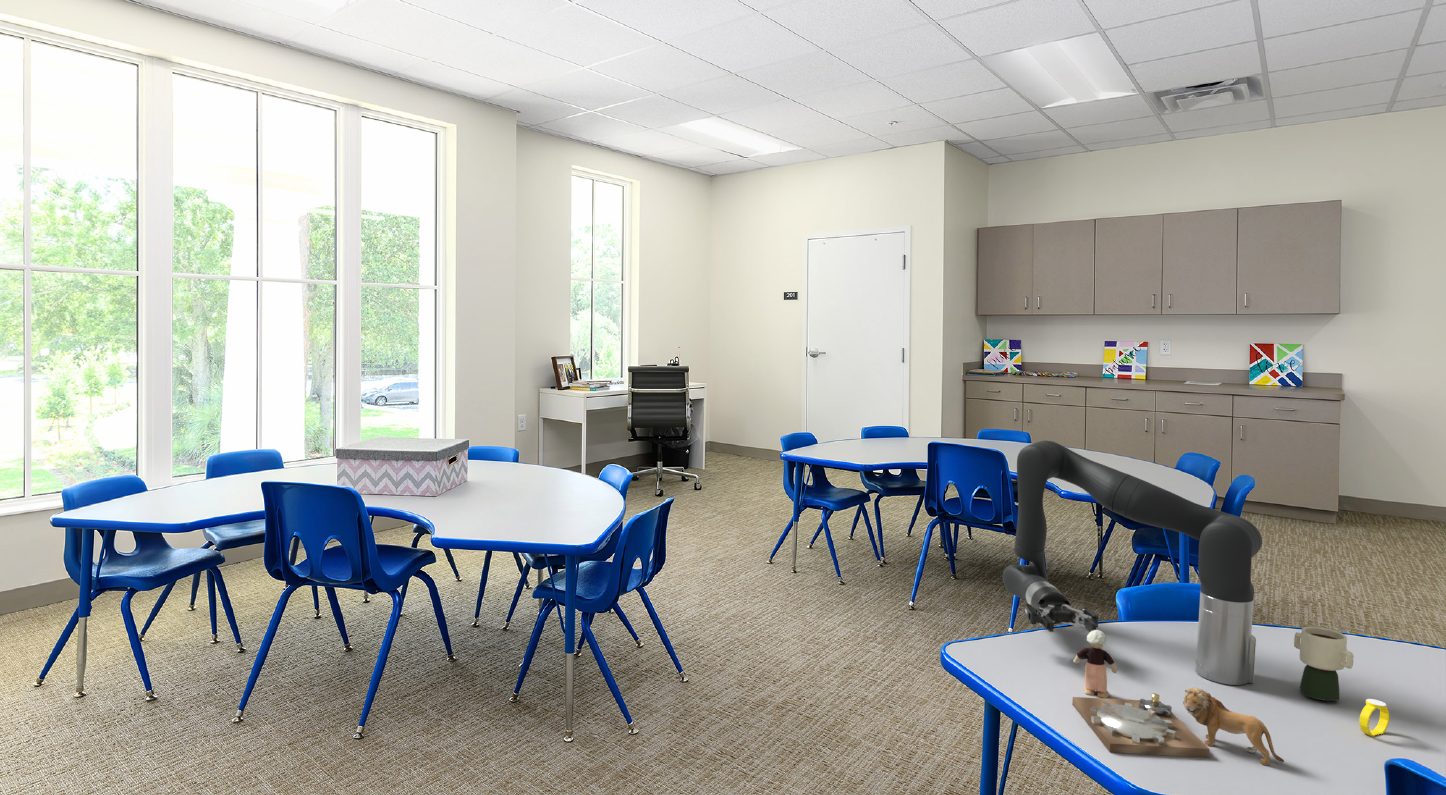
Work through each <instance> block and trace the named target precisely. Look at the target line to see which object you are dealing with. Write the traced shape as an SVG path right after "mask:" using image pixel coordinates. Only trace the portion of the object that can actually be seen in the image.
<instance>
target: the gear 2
mask: <svg viewBox="0 0 1446 795" xmlns="http://www.w3.org/2000/svg"><path fill="white" fill-rule="evenodd" d="M1139 700H1140V704H1139V708H1140V709H1143V710H1146V711H1147V710H1149V709H1151V710H1154V711H1156V715H1157V716H1165V717H1167V718H1169V717H1170V714H1171V712H1172V710H1173V709H1172V706H1171V705H1169V704H1165V703H1163V702H1162V703H1160V702H1161V701H1160V694H1159V693H1156V692H1155V693H1154V692H1153V693H1151V700H1149V699H1147V700H1146V699H1144V698H1139ZM1159 701H1160V702H1159Z"/></svg>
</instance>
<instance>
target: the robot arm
mask: <svg viewBox="0 0 1446 795" xmlns="http://www.w3.org/2000/svg"><path fill="white" fill-rule="evenodd" d="M1016 476H1017V480H1016V481H1017V505H1018V506H1017V524H1016V529H1015V530H1016V532H1015V540H1014V546H1013V548H1014V549H1013V551H1014V554H1015V556H1016V557H1018V559H1019V558H1020V559H1022V560H1025V561H1028V562H1031V563H1032V564H1031V565H1027V564H1015V563H1014V564H1010V565H1008V566H1006V567H1005V568H1004V570H1003V573H1002V581H1003V582H1002V583H1003V584H1004V587H1005V589H1006V590H1007V591H1008V592H1010V594H1012V595H1013V596H1015V597H1016V598H1017V597H1018V598H1019V599H1022V600H1024V601H1026V602H1027V603H1026V604H1025V608H1024V616H1025V618H1026V619H1027V620H1028V622H1029V623H1030V624H1031V625H1037V624H1039V626H1040V627H1041V626H1042V627H1043V628H1044V629H1046V630H1047V631H1048V632H1050V633H1054V627H1055V625H1058V624H1061V623H1062V624H1064V625H1066V624H1068V625H1071V626H1074V627H1075V628H1078V627H1083V628H1084V629H1085V630H1086V631H1087V632H1089V633H1090V632H1091V631H1093V630H1098V628H1099V617H1100V615H1098V614H1096V613H1095V612H1094V611H1093V610H1091V609H1090V607H1087V606H1083V607H1082V610H1080V609H1078V608H1077V609H1076V608H1075V607H1074V606H1071V604H1070V601H1069V599H1068V598H1067V596H1065V595H1064V594H1063V593H1062V591H1060V590H1059V589H1058V588H1057V587H1056V586H1054V585H1053V584H1051V583H1050V582H1049V578H1048V574H1047V568H1046V562H1045V561H1046V559H1045V548H1046V542H1047V534H1048V533H1047V532H1048V530H1047V529H1048V527H1047V526H1048V525H1047V524H1048V523H1047V519H1046V514H1045V511H1044V510H1045V509H1044V493H1045V489H1046V486H1047V485H1046V484H1047V482H1048V480H1049V479H1053V478H1054V479H1058V480H1061V481H1064V482H1066V483H1070V484H1073V485H1075V486H1077V487H1079V488H1080V489H1082V490H1083V491H1084V492H1086V493H1087V494H1089V495H1090V497H1092V499H1094V500H1095V501H1096V502H1097V503H1098V504H1100V506H1102V507H1104V508H1105V509H1107V510H1109V511H1111V512H1113V513H1115V514H1117V515H1119V516H1121V517H1124V518H1126V519H1129V520H1131V521H1134V522H1137V523H1140V524H1144V525H1148V526H1152V527H1156V528H1159V529H1165V530H1171V531H1174V532H1178V533H1180V534H1184V535H1185V536H1188V537H1191V538H1193V539H1194V540H1197V541H1198V542H1199V543H1198V565H1197V569H1198V570H1197V571H1198V579H1199V582H1200V591H1199V593H1200V594H1199V609H1198V625H1197V641H1196V658H1195V659H1196V660H1195V672H1196V673H1197V674H1198V675H1199V676H1201V677H1202V678H1204V679H1206V680H1209V681H1213V682H1215V683H1220V684H1224V685H1229V686H1243V685H1246V684H1248V683H1254V674H1255V661H1256V660H1255V659H1256V646H1257V644H1256V643H1257V638H1256V636H1254V635H1252V634H1253V633H1252V632H1253V630H1252V629H1253V616H1254V601H1255V586H1254V584H1252V578H1251V577H1252V559H1253V557H1254V556H1256V555H1257V554H1258V553H1259V551H1260V550H1261V548H1262V546H1263V537H1262V534H1261V532H1260V530H1259V529H1258V527H1257V526H1255V525H1254V523H1252V522H1250V521H1249V520H1247V519H1246V518H1243V517H1241V516H1237V515H1234V514H1231V513H1227V512H1224V511H1221V510H1217V509H1214V508H1211V507H1208V506H1205V505H1202V504H1199V503H1195V502H1193V501H1192V500H1189V499H1186V498H1184V497H1182V496H1180V495H1178V494H1177V493H1174V492H1172V491H1169V490H1166V489H1165V488H1162V487H1160V486H1158V485H1155V484H1153V483H1151V482H1148V481H1146V480H1143V479H1141V478H1138V477H1136V476H1134V475H1131V474H1129V473H1126V472H1123V471H1120V470H1118V469H1116V468H1112V467H1110V466H1107V465H1105V464H1102V463H1099V462H1096V461H1094V460H1091V459H1089V458H1087V457H1085V456H1083V455H1082V454H1079V453H1077V452H1075V451H1073V450H1072V449H1069V448H1068V447H1066V446H1064V445H1062V444H1060V443H1058V442H1055V441H1052V440H1040V441H1036V442H1035V443H1031V444H1028V445H1026V446H1024V447H1023V448H1021V450H1020V451H1019V452H1018V455H1017V460H1016ZM1082 620H1083V621H1084V622H1083V621H1082ZM1089 633H1088V634H1089Z"/></svg>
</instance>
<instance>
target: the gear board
mask: <svg viewBox="0 0 1446 795" xmlns="http://www.w3.org/2000/svg"><path fill="white" fill-rule="evenodd" d="M1071 702H1072V706H1073V708H1075V710H1076V712H1078V714H1079V715H1080V717H1081V718H1083V720H1084V721H1085V723H1086V724H1087V726H1088V727H1089V728H1090V729H1091V730H1092V731H1093V733H1094V734H1095V735H1096V737H1097V738H1098V739H1099V741H1101V743H1102V744H1103V745H1104V746H1105V749H1107V751H1108V752H1109V753H1121V754H1139V755H1155V756H1159V755H1160V756H1175V757H1193V758H1194V757H1195V758H1210V748H1209V746H1207V745H1206V744H1205V742H1203V741H1202V740H1201V739H1200V738H1199V737H1198V736H1197V735H1196V734H1195V733H1194V732H1193V731H1192V730H1190V728H1189V727H1188V726H1186V724H1184V722H1182V721H1181V719H1179V718H1178V717H1177V716H1176V715H1175V713H1173V712H1172V711H1171V714H1170V717H1169V718H1167V717H1165V716H1158V717H1160V718H1161V719H1162V720H1170V721H1171V722H1172V723H1173V729H1172V728H1168V729H1170V730H1173V731H1176V735H1175V739H1171V738H1168V737H1165V738H1164V744H1161V745H1158V744H1157V743H1155V742H1154V741H1140V742H1139V744H1138V743H1133V742H1132V740H1131V739H1130V738H1126V737H1123V736H1120V735H1117V734H1116V735H1113V736H1111V735H1109V734H1107V733H1106V728H1104V727H1103V726H1102V725H1095V724H1093V723H1092V722H1091V716H1096V715H1093V714H1090V708H1091V707H1092V706H1093V707H1097V708H1101V707H1102V702H1109V703H1110V704H1112V705H1125V703H1130V704H1132V707H1136V708H1139V704H1140V699H1139V700H1138V699H1123V698H1121V699H1119V698H1102V697H1082V696H1081V697H1080V696H1072V701H1071ZM1159 702H1160V703H1163V702H1161V701H1160V700H1159Z"/></svg>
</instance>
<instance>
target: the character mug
mask: <svg viewBox="0 0 1446 795" xmlns="http://www.w3.org/2000/svg"><path fill="white" fill-rule="evenodd" d="M1293 641H1294V642H1293V647H1294V648H1296V649H1297V650H1299V660H1300V661H1301V662H1302V663H1303V664H1305V666H1304V668H1303V672H1302V676H1301V680H1300V685H1299V691H1300V692H1301V693H1302V694H1303V695H1304V696H1307V697H1309V698H1312V699H1316V700H1321V701H1326V700H1328V701H1340V698H1341V697H1340V695H1341V694H1340V681H1339V675H1338V673H1337V671H1342V670H1343V669H1344V668H1346V669H1352V668H1353V666H1354V657H1355V656H1354V653H1353V652H1351V651H1350V650H1348V648H1347V644H1348V638H1347V636H1346V635H1345V634H1343V633H1341V632H1339V631H1336V630H1334V629H1330V628H1326V627H1319V626H1303V627H1302V628H1301V632H1295V634H1294V639H1293Z"/></svg>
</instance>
